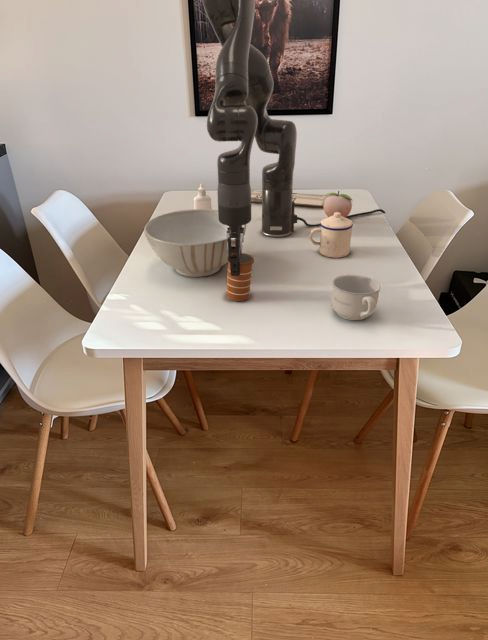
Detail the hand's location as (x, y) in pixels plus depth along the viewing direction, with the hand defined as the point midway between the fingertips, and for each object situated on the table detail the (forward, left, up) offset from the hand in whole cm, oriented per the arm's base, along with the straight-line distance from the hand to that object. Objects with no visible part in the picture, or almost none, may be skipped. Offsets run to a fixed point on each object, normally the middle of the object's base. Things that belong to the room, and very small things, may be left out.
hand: (236, 269), depth 135 cm
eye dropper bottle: (-24, -53, -8) cm, 58 cm away
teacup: (-16, +25, -8) cm, 31 cm away
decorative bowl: (-2, -21, -8) cm, 22 cm away
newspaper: (-56, -53, -8) cm, 77 cm away
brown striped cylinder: (-3, +2, -2) cm, 4 cm away
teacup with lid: (-38, -7, -8) cm, 39 cm away
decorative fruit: (-58, -25, -8) cm, 63 cm away
